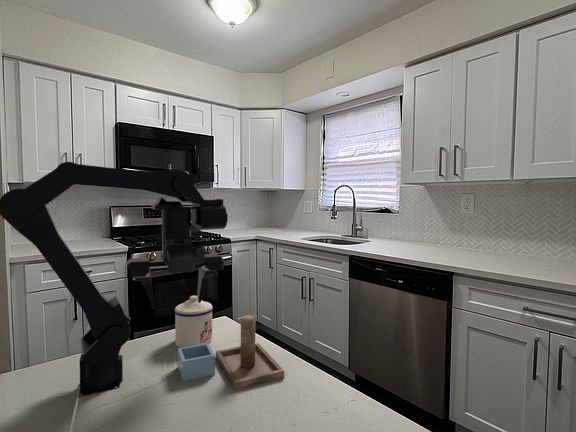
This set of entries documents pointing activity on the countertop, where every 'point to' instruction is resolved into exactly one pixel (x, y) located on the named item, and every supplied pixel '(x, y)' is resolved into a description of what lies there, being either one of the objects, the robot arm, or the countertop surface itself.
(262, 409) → the countertop surface
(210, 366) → the holder cup
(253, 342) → the dowel pin
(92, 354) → the robot arm
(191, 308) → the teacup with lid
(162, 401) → the countertop surface
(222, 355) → the tray
